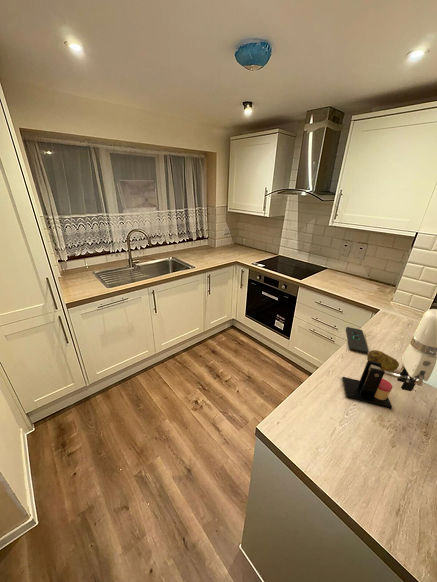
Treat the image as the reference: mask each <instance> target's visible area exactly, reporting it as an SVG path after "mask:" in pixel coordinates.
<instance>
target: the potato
mask: <svg viewBox="0 0 437 582" xmlns="http://www.w3.org/2000/svg"><path fill="white" fill-rule="evenodd" d="M366 360H367V361H368V360H369V361H374V362H379V363H381V364H382V365H381V367H380V369H381V370H384V371H388V372H394V371H396V370H397V369H398V368H399V367H400V363H399V361H398V360H397V359H395V358H394V357H392V356H390V355H388V354H386V353H384V352H383V351H380V350H377V349H373V350H370V351H368V354H367V358H366Z"/></svg>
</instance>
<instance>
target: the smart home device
mask: <svg viewBox="0 0 437 582" xmlns="http://www.w3.org/2000/svg"><path fill="white" fill-rule="evenodd" d="M345 333H346V339H347V346H348V351H350V352H355V353H360V354H364V355H368V353H369V348H368V344H367V342H366V337H365V335H364V331H363V329H359V328H354V327H350V326H346V328H345Z"/></svg>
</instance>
